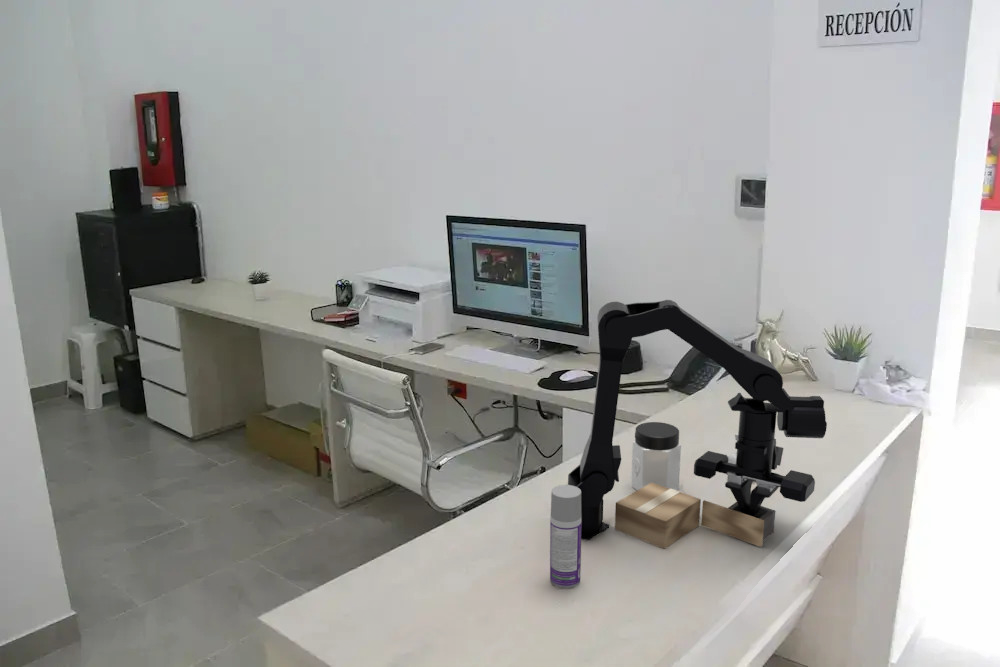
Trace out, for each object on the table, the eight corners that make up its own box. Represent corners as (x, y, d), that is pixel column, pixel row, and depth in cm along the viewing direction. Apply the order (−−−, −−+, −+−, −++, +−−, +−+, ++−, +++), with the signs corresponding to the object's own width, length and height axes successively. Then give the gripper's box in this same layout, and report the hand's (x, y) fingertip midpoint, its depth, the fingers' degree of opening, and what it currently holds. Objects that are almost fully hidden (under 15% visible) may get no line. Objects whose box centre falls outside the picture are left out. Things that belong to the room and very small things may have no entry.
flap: (773, 536, 141) (776, 510, 140) (760, 546, 137) (763, 520, 136) (715, 515, 148) (716, 491, 147) (701, 525, 145) (702, 500, 143)
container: (561, 569, 132) (562, 481, 128) (586, 579, 129) (588, 489, 125) (543, 581, 128) (544, 492, 124) (569, 592, 125) (570, 501, 122)
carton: (664, 549, 138) (665, 520, 136) (614, 529, 144) (615, 502, 143) (699, 525, 145) (700, 498, 144) (650, 507, 152) (651, 481, 151)
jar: (625, 481, 163) (626, 423, 160) (662, 475, 165) (665, 418, 162) (646, 501, 154) (648, 440, 151) (685, 495, 157) (688, 435, 154)
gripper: (828, 433, 138) (819, 519, 142) (720, 411, 149) (714, 492, 152) (808, 453, 129) (799, 545, 133) (695, 428, 140) (689, 514, 144)
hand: (749, 522), depth 141 cm, fingers closed
